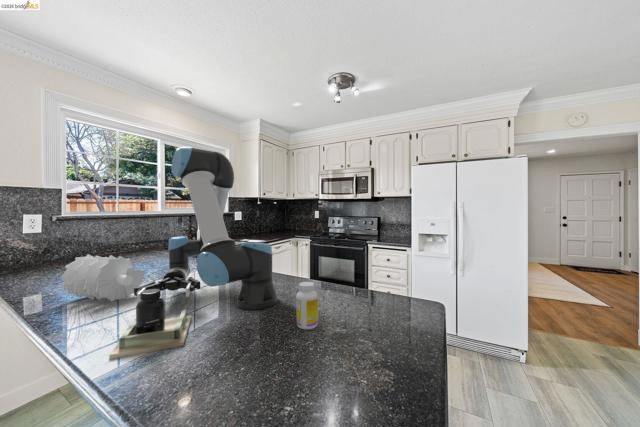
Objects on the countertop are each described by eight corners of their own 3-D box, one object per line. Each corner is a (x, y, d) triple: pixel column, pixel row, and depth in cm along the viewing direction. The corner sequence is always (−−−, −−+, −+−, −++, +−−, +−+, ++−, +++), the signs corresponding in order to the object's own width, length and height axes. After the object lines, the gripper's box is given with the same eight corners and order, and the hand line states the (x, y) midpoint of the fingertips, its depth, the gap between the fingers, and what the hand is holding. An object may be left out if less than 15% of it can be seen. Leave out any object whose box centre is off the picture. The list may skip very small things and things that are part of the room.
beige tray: (133, 327, 79) (133, 315, 79) (191, 318, 84) (191, 308, 84) (109, 359, 62) (108, 344, 62) (183, 345, 68) (183, 332, 68)
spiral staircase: (116, 314, 99) (69, 305, 105) (153, 283, 114) (110, 277, 120) (94, 277, 91) (45, 270, 97) (137, 249, 106) (92, 244, 112)
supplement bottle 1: (150, 340, 69) (149, 296, 68) (130, 337, 70) (128, 294, 70) (170, 328, 75) (169, 288, 75) (152, 326, 77) (151, 286, 77)
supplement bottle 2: (321, 322, 81) (320, 281, 80) (313, 331, 74) (313, 288, 74) (301, 319, 83) (301, 280, 83) (292, 328, 77) (292, 286, 76)
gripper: (209, 284, 106) (206, 301, 87) (138, 292, 98) (116, 313, 78) (209, 266, 106) (205, 279, 86) (137, 272, 97) (116, 288, 78)
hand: (163, 295), depth 82 cm, fingers open, 13 cm apart
